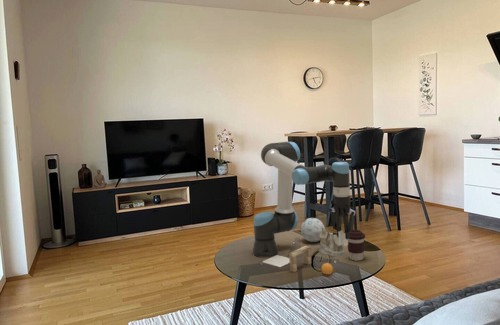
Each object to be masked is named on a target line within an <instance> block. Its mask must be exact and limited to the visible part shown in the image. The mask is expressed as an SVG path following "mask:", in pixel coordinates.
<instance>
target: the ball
mask: <svg viewBox="0 0 500 325" xmlns="http://www.w3.org/2000/svg"><path fill="white" fill-rule="evenodd" d="M321 272H322V273H323V274H324V275H329V276H330V275H331V274H332V273H333V272H334V267H333V265H332V263H329V262H325V263H323V264H322V266H321Z"/></svg>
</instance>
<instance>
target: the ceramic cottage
mask: <svg viewBox="0 0 500 325" xmlns="http://www.w3.org/2000/svg"><path fill="white" fill-rule="evenodd" d="M324 227H325V226H324ZM324 227H323V228H322V231H321V234H320V240H319V241H320V242H319V249H318V253H319V254H321V255H325V256H330V257H334V258H335V257H336V258H339V257H342V256H343V255H344V254H345V251H344V250H343V249H344V246H343V245H341V246H340V245H339V238H338V237H337V234H334V233H333V232H329V231H327V230H326V228H325V229H324Z"/></svg>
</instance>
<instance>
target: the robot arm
mask: <svg viewBox="0 0 500 325" xmlns="http://www.w3.org/2000/svg"><path fill="white" fill-rule="evenodd" d="M260 158H261V161H262V162H263V163H264V165H267V166H269V167H274V168H276V169H277V199H276V200H277V203H276V204H277V206H276V207H275V208H274V213H273V212H272V211H261V212H259V213H256V214H255V215H254V216H253V230H254V233H253V234H254V242H253V247H252V254H254V255H253V256H255V255H256V256H255V257H257V258H258V257H260V258H269V257H270V258H271V257H274V256H276V255H279V247H278V244H277V242H276V240H275V239H276V238H275V234H280V233H284V232H290V231H294V230H295V229H297V226H298V225H299V224H298V223H299V216H298V214H297V212H296V211H295V209H294V207H293V183H294V184H295V185H301V186H303V185H308V184H314V183H320V182H321V183H322V182H332V189H333V190H332V192H333V198H332V199H333V207H331V208H329V209H328V211H329V214H330V217H331V225H332V229H333V230H335V231H336V235H337V237H338V238H339V245H340V246H341V245H342V246H343V247H348V239H349V232H351V231H353V230H354V224H355V215H356V214H357V210H353V209H352V207H351V196H350V195H351V187H350V186H351V183H350V180H351V179H350V171H351V170H350V163H348V162H346V161H335V162H333V163H332V164H331V165H328V164H319V165H318V166H310V167H309V166H308V167H306V166H305V165H302V164H300V162H298V161H299V160H300V158H301V151H300V148H299V146H298V144H297V143H296V142H293V141H282V142H281V141H280V142H279V141H278V142H270V143H268V144H266V145H264V147H263V148H262V150H261V152H260ZM342 221H343V228H342ZM343 229H344V231H343Z"/></svg>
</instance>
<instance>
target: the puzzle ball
mask: <svg viewBox="0 0 500 325" xmlns="http://www.w3.org/2000/svg"><path fill="white" fill-rule="evenodd" d="M323 227H324V229H325V230H326V228H325V225H324V223H323V222H322V221H321V220H320V219H318V218H316V217H310V218H309V217H308V218H307V219H305V220H304V221H303V222H302V224H301V226H300V234H301V236H302V238H303V239H304V240H306V241H308V242H310V243H317V242H319V241H320V234H321V231H322V228H323Z"/></svg>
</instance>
